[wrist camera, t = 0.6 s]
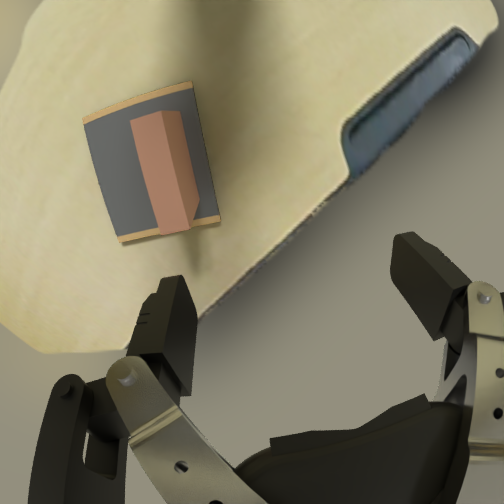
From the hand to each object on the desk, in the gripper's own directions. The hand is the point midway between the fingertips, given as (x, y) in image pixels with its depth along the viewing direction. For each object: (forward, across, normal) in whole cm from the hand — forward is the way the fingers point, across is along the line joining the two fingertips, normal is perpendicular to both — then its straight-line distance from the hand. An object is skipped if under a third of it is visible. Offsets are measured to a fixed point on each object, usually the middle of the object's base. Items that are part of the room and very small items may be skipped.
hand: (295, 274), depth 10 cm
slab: (+21, +8, -2) cm, 22 cm away
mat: (+21, +11, -2) cm, 24 cm away
